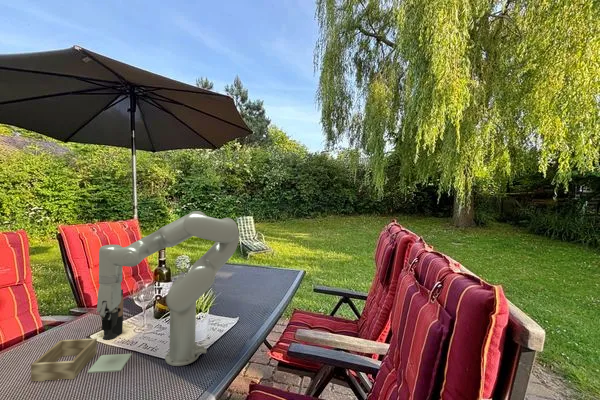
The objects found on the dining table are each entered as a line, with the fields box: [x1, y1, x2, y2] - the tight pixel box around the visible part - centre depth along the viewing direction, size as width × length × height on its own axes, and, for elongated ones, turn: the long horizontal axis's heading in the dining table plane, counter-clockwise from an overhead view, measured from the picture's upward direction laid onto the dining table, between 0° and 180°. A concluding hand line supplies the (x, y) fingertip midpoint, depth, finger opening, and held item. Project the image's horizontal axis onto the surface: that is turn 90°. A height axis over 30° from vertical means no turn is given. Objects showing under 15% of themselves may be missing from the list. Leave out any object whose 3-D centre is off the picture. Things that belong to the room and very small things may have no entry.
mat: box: [87, 353, 133, 374], centre depth 119 cm, size 11×11×1 cm
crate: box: [30, 337, 98, 382], centre depth 116 cm, size 13×17×6 cm
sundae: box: [102, 307, 121, 341], centre depth 118 cm, size 7×7×15 cm
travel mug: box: [103, 288, 124, 337], centre depth 141 cm, size 8×8×20 cm
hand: (110, 325), depth 118 cm, fingers closed on sundae, 5 cm apart
